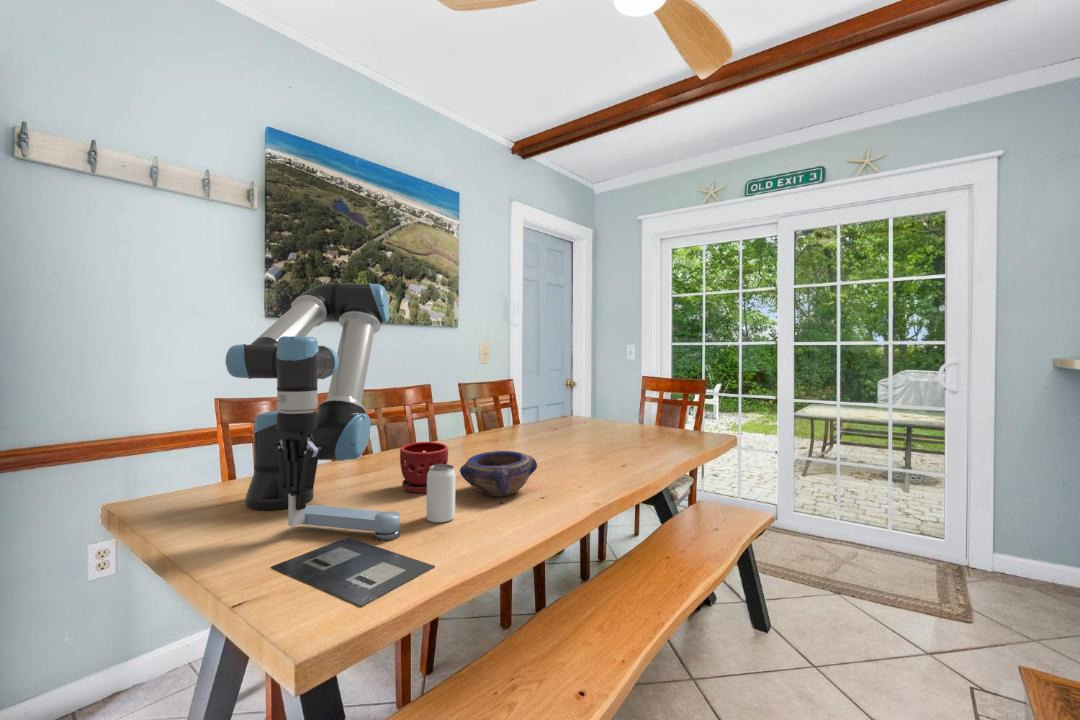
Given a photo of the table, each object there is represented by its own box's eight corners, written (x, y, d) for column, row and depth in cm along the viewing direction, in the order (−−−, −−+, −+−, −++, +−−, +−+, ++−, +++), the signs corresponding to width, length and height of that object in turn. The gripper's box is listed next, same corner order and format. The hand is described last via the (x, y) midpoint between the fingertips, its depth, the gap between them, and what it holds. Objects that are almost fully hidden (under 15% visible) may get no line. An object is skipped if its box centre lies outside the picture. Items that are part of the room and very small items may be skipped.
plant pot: (389, 489, 133) (390, 446, 133) (428, 479, 144) (429, 439, 143) (418, 499, 125) (419, 453, 125) (457, 488, 135) (457, 446, 135)
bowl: (451, 494, 130) (451, 457, 130) (494, 479, 145) (494, 446, 145) (502, 507, 120) (503, 467, 120) (543, 490, 135) (543, 455, 134)
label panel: (271, 567, 85) (271, 566, 85) (348, 537, 99) (348, 536, 99) (361, 607, 73) (361, 605, 73) (434, 567, 87) (434, 565, 87)
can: (448, 524, 107) (449, 471, 107) (421, 522, 109) (422, 469, 108) (459, 515, 114) (459, 464, 113) (433, 512, 115) (434, 463, 115)
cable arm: (310, 516, 106) (310, 503, 106) (404, 525, 102) (404, 512, 102) (294, 524, 102) (294, 511, 102) (392, 534, 97) (392, 520, 97)
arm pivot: (369, 537, 99) (369, 531, 99) (388, 530, 104) (388, 524, 104) (386, 543, 97) (386, 537, 97) (404, 535, 101) (404, 529, 101)
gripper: (261, 410, 99) (260, 523, 100) (299, 415, 93) (298, 536, 93) (295, 406, 106) (295, 512, 106) (333, 411, 99) (332, 524, 100)
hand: (296, 523), depth 100 cm, fingers closed
